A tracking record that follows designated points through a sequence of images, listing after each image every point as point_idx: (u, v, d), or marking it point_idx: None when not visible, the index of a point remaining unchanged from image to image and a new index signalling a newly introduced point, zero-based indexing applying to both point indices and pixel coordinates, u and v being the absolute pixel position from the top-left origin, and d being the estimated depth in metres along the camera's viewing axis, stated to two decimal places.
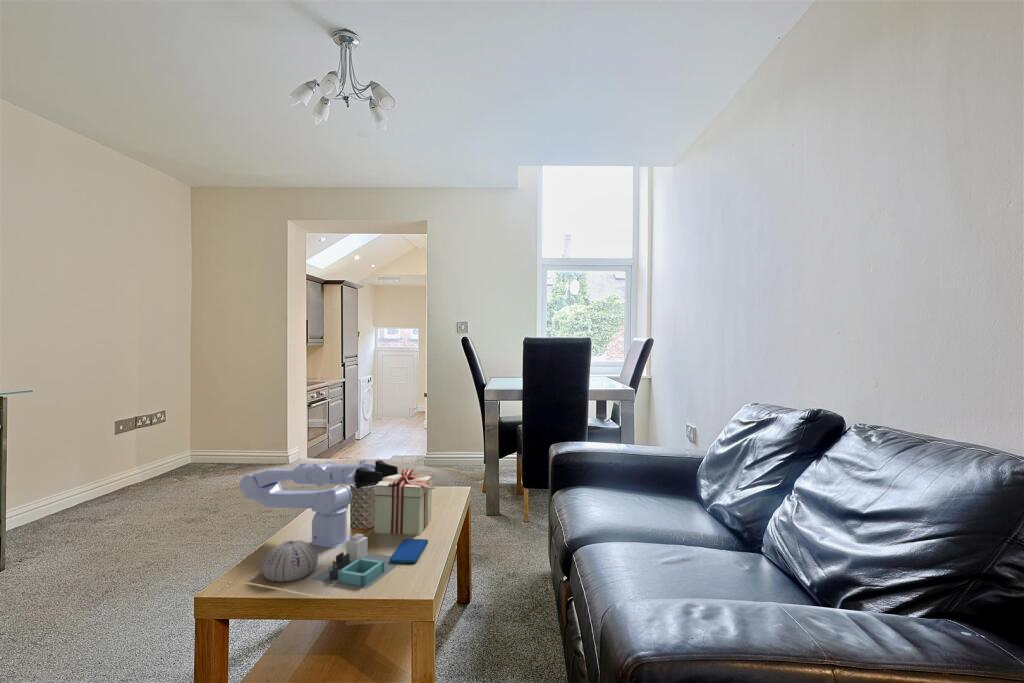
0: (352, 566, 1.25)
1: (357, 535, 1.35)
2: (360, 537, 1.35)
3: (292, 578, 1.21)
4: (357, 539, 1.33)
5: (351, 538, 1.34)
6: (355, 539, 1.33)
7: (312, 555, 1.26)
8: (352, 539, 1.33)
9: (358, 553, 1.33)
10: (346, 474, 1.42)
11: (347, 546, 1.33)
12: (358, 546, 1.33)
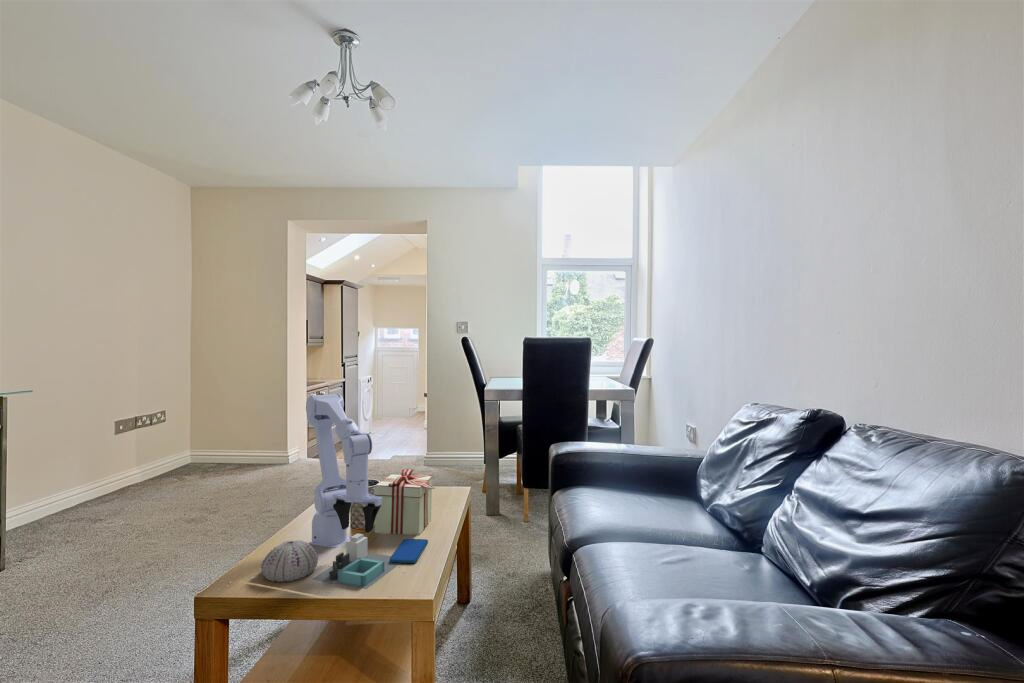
0: (352, 566, 1.25)
1: (357, 535, 1.35)
2: (360, 537, 1.35)
3: (292, 578, 1.21)
4: (357, 539, 1.33)
5: (351, 538, 1.34)
6: (355, 539, 1.33)
7: (312, 555, 1.26)
8: (352, 539, 1.33)
9: (358, 553, 1.33)
10: None
11: (347, 546, 1.33)
12: (358, 546, 1.33)
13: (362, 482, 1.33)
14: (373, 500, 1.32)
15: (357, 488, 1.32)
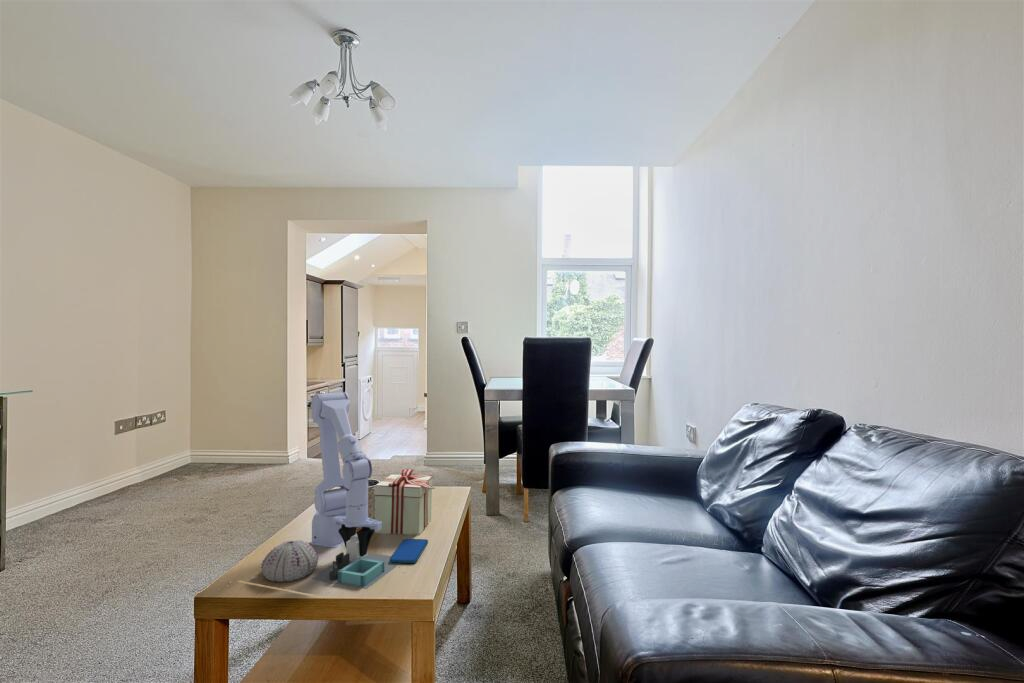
0: (352, 566, 1.25)
1: None
2: None
3: (292, 578, 1.21)
4: (357, 539, 1.33)
5: (351, 538, 1.34)
6: (355, 539, 1.33)
7: (312, 555, 1.26)
8: (352, 539, 1.33)
9: (358, 553, 1.33)
10: None
11: (347, 546, 1.33)
12: (358, 546, 1.33)
13: (362, 507, 1.33)
14: (373, 525, 1.32)
15: (357, 513, 1.32)
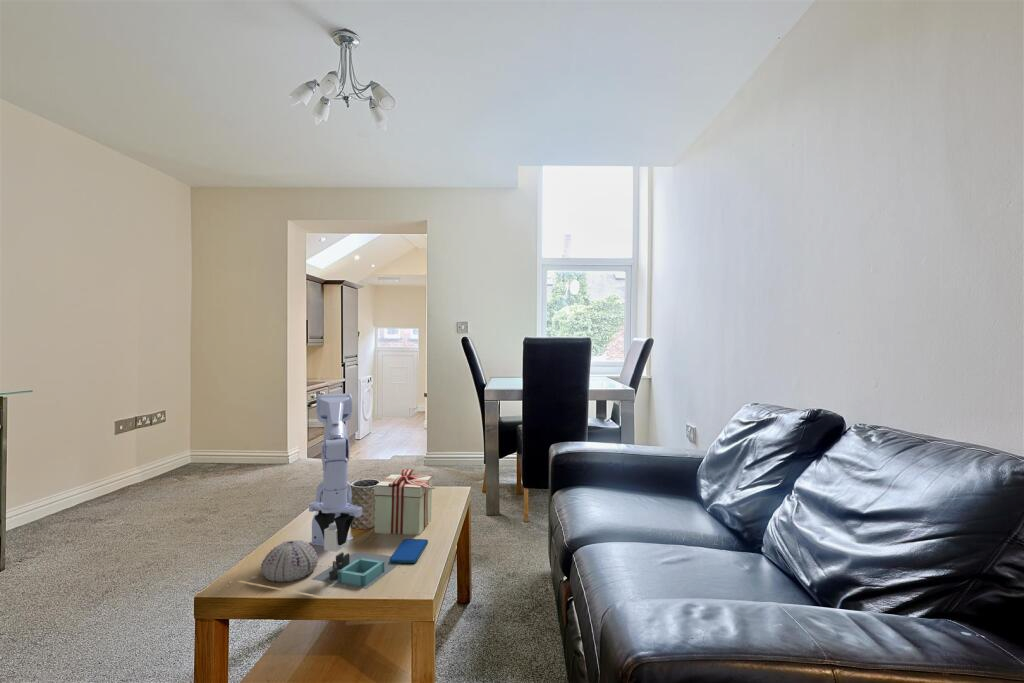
0: (352, 566, 1.25)
1: None
2: None
3: (292, 578, 1.21)
4: (336, 527, 1.22)
5: (329, 526, 1.22)
6: (334, 527, 1.22)
7: (312, 555, 1.26)
8: (331, 527, 1.22)
9: (337, 541, 1.21)
10: None
11: (325, 534, 1.22)
12: None
13: (340, 491, 1.22)
14: (352, 511, 1.20)
15: (334, 497, 1.21)
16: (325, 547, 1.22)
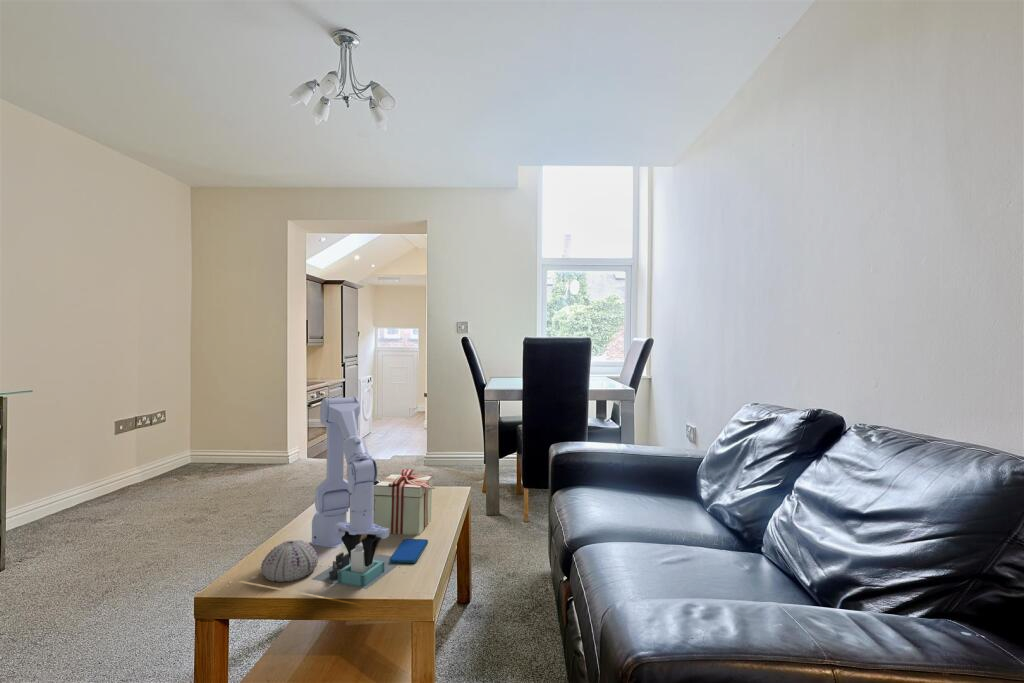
0: None
1: None
2: None
3: (292, 578, 1.21)
4: None
5: (356, 547, 1.23)
6: (360, 548, 1.22)
7: (312, 555, 1.26)
8: (357, 548, 1.23)
9: (364, 563, 1.22)
10: None
11: (352, 556, 1.22)
12: None
13: (367, 512, 1.22)
14: (379, 532, 1.21)
15: (361, 519, 1.21)
16: (352, 568, 1.22)
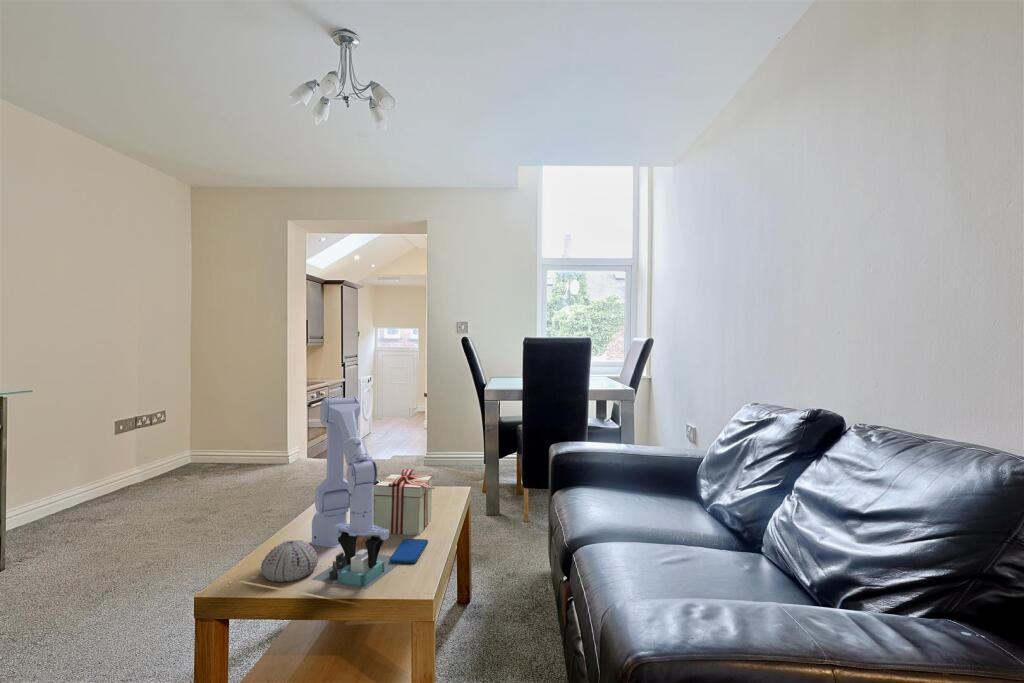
0: None
1: (362, 551, 1.24)
2: (366, 553, 1.24)
3: (292, 578, 1.21)
4: (362, 556, 1.22)
5: (356, 555, 1.23)
6: (360, 556, 1.22)
7: (312, 555, 1.26)
8: (357, 556, 1.23)
9: (364, 571, 1.22)
10: None
11: (352, 563, 1.22)
12: (364, 563, 1.22)
13: (367, 513, 1.22)
14: (379, 533, 1.21)
15: (361, 520, 1.21)
16: None
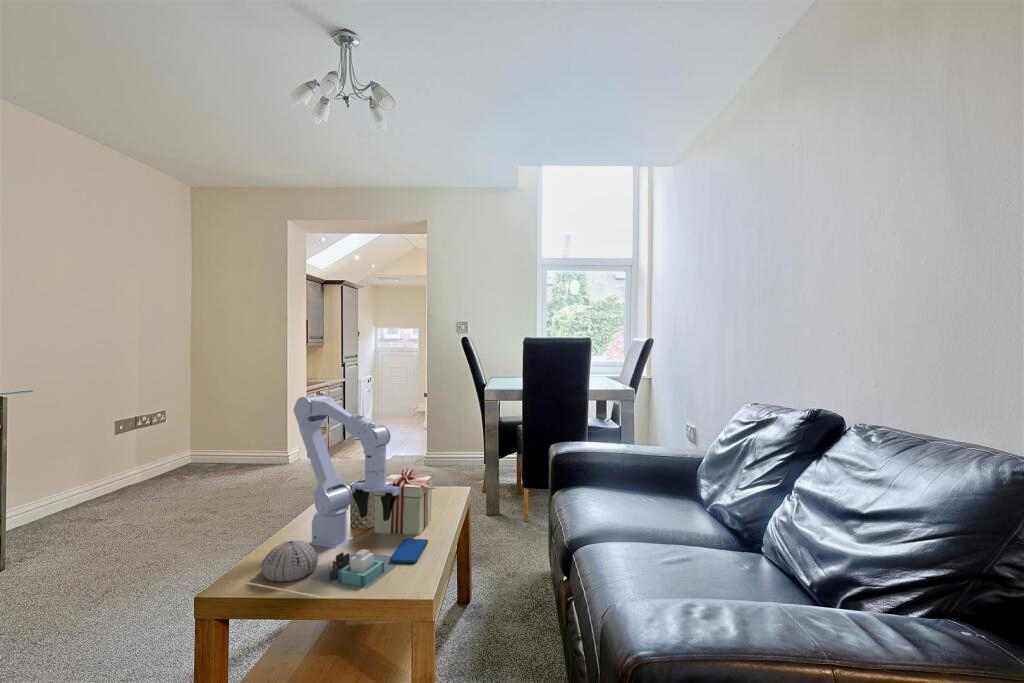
0: None
1: (362, 551, 1.24)
2: (366, 553, 1.24)
3: (292, 578, 1.21)
4: (362, 556, 1.22)
5: (356, 555, 1.23)
6: (360, 556, 1.22)
7: (312, 555, 1.26)
8: (357, 556, 1.23)
9: (364, 571, 1.22)
10: None
11: (352, 563, 1.22)
12: (364, 563, 1.22)
13: (380, 472, 1.38)
14: (391, 490, 1.37)
15: (375, 478, 1.38)
16: None
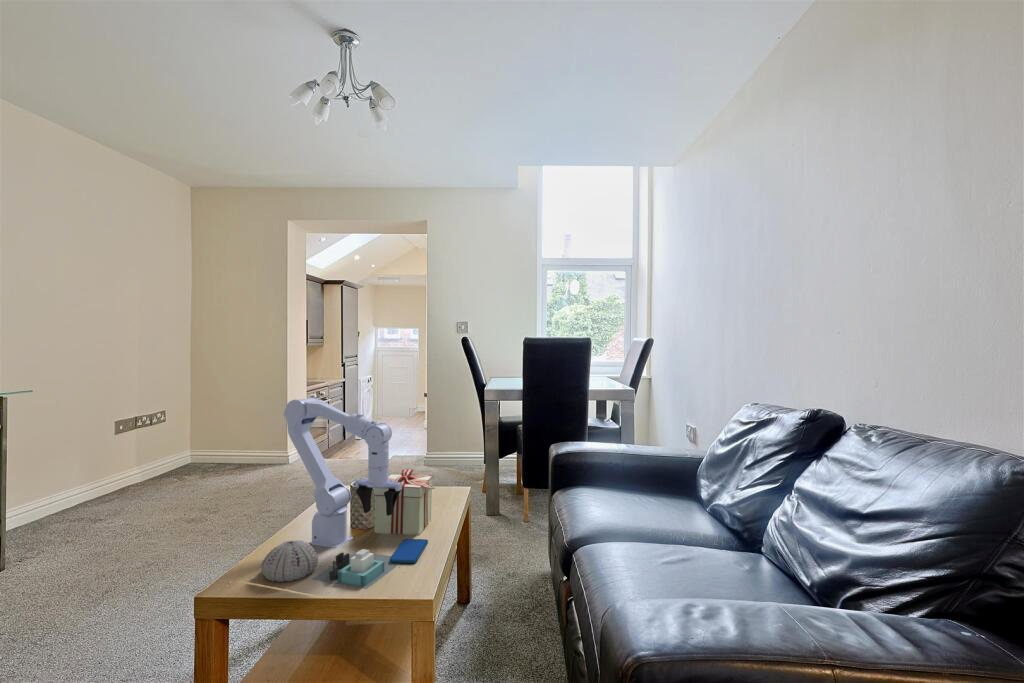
0: None
1: (362, 551, 1.24)
2: (366, 553, 1.24)
3: (292, 578, 1.21)
4: (362, 556, 1.22)
5: (356, 555, 1.23)
6: (360, 556, 1.22)
7: (312, 555, 1.26)
8: (357, 556, 1.23)
9: (364, 571, 1.22)
10: None
11: (352, 563, 1.22)
12: (364, 563, 1.22)
13: (383, 468, 1.43)
14: (394, 485, 1.41)
15: (378, 474, 1.42)
16: None
